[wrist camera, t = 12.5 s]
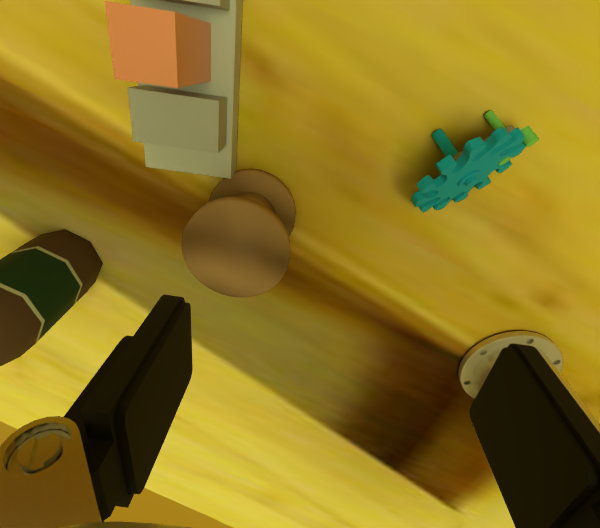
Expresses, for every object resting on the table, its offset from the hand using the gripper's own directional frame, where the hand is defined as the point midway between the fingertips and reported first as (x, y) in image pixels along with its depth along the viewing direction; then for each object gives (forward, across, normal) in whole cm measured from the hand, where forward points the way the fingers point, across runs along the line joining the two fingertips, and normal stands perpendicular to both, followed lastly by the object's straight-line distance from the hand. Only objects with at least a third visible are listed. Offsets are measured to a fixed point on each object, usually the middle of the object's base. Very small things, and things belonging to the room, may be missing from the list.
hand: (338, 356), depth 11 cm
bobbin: (+27, +7, +7) cm, 29 cm away
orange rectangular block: (+24, +13, -7) cm, 29 cm away
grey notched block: (+27, +13, -5) cm, 30 cm away
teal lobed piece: (+28, -12, -1) cm, 30 cm away
